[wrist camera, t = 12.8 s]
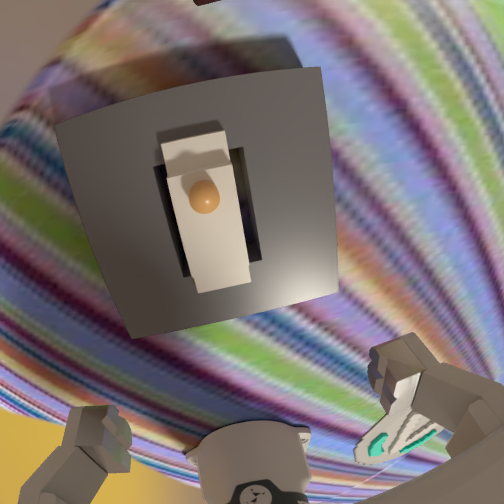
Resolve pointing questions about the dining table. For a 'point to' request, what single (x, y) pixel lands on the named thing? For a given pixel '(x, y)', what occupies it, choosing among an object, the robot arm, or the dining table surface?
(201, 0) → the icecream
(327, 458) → the dining table surface
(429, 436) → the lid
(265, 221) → the grey board with hole
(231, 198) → the servo
